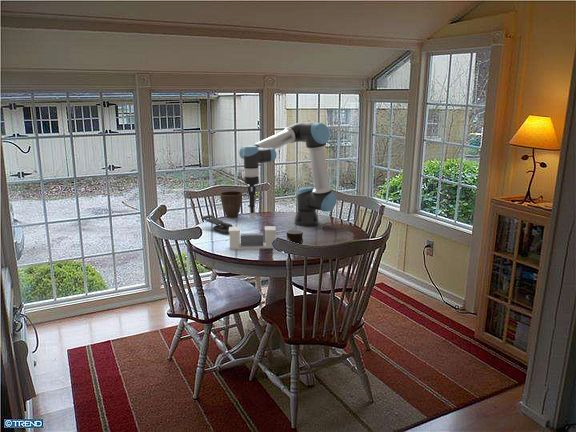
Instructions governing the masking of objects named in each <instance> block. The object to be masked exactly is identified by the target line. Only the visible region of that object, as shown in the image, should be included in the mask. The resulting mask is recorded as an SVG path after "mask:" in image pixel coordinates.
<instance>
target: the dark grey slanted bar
mask: <svg viewBox="0 0 576 432" xmlns="http://www.w3.org/2000/svg"><path fill="white" fill-rule="evenodd" d="M200 219H201V220H204V221H205V222H209V223H211V224H212V225H214V226H213V227H212V229H213V230H212V232H213V231H214V232H216V233H218V234H221V235H225V236H226V235H230V233H229V227H234V226H233V225H232V224H231V223H228V222H224V221H222V220H221V219H219V218H217V217H215V216H213V215H212V214H209V215H205V216H202V217H200Z"/></svg>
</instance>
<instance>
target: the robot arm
mask: <svg viewBox="0 0 576 432" xmlns="http://www.w3.org/2000/svg"><path fill="white" fill-rule="evenodd" d="M329 138H330V131H329V128H328V126H327V125H326V124H324V123H323V122H318V121H317V122H315V121H300V122H297V123H295V124H294V123H293V124H292V125H290V126H287V127H285V128H284V129H283V130H282V131H280V132H278V133H276V134H274V135H271V136H269V137H267V138H265V139H262V140H261V141H257V142H255V143H253V144H251V145H243V146H241V147H240V148H239V151H238V153H239V157H240V158H241V159H242V160H243V168H244V169H243V170H242V172H243V174H244V178H243V180H244V184H245V185H249V186H248V187H247V190H248V191H247V192H248V196H249V205H248V206H247V207H249V220H255V219H256V201H257V198H256V197H255V195H256V186H255V185H257V184H259V182H260V178H259V176H260V174H259V173H260V172H259V170H260V168H259V164H265V163H272V162H274V161H275V160H276V159H277V151H276V150H277V149H279V148H280V147H283V146H285V145H288V144H294V143H297V142H299V143H301V142H302V143H305V145H306V148H307V149H308V150H309V156H310V157H309V158H310V163H311V172H312V179H313V186H304V187H300V188H298V189H297V193H296V194H297V195H296V196H297V197H296V199H297V202H296V203H297V205H296V206H297V211H296V214H295V217H294V224H295V225H297V226H302V227H312V226H316V225H318V224H319V216H318V214H317V211H321V212H331V211H333V209H334V208H335V206H336V205H337V202H338V201H337V200H338V199H337V198H338V197H337V194H336V193H334V192H333V191H332V190H333V189H332V187H331V186H329V179H328V171H327V162H326V152H325V148H326V146H327V142H328V141H329Z"/></svg>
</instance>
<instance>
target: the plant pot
mask: <svg viewBox="0 0 576 432" xmlns="http://www.w3.org/2000/svg"><path fill="white" fill-rule="evenodd" d="M243 194H244V193H243V192H242V191H238V190H237V191H231V190H230V191H224V192H223V191H222V192H220V193H219V196H220V197H219V198H220V202H221V206H222V208H223V212H224V214H225V216H226V218H227V217H228V219H234V218H235V217H236V218H238V217H239V214H240V210H241V207H242V202H243Z"/></svg>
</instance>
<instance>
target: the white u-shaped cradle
mask: <svg viewBox="0 0 576 432" xmlns="http://www.w3.org/2000/svg"><path fill="white" fill-rule="evenodd" d="M240 231H241V226H233V227H229V233H230V234H229V249H230V250H241V249H242V250H249V249H253V250H254V249H256V250H257V249H259V250H260V249H274V248H273V247H272V242H273V240H274V239H275V240H276V233H277V229H276V225H275V226H274V225H273V226H271V225H269V226H268V225H264V232H265V237H264V238H265V242H263V246H241V232H240Z"/></svg>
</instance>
